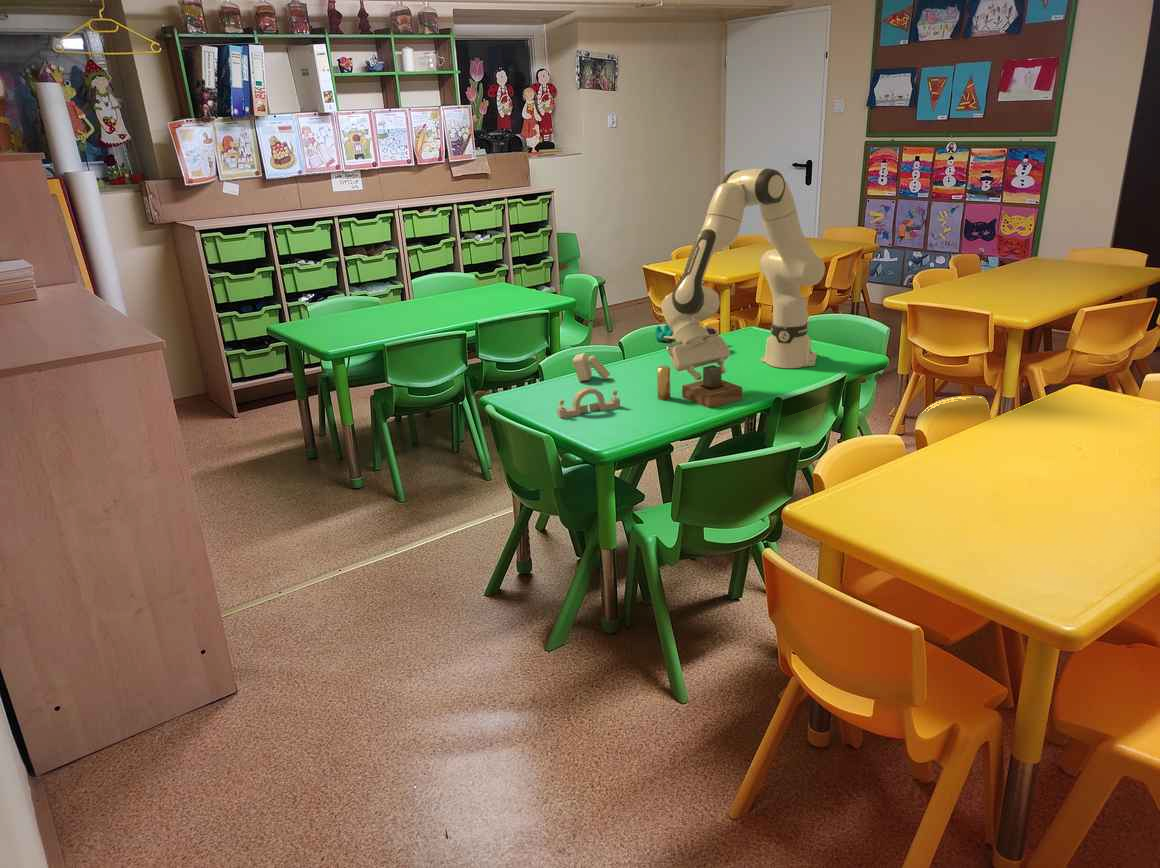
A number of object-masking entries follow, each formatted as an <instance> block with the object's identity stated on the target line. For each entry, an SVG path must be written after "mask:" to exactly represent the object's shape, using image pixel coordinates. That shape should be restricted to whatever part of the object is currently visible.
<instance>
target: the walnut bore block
mask: <svg viewBox="0 0 1160 868" xmlns="http://www.w3.org/2000/svg"><path fill="white" fill-rule="evenodd" d="M681 386H682V393H681V394H682V396H681V397H682V398H684V399H685V400H688V401H689V402H693V403H696V404H698V405H701V406H703V407H704V408H708V409H710V408H714V407H717V406H721V405H725V404H729V403H732V402H736V401H740V400H742V399H743V386H740V385H738V384H736V383H732V382H729V381H727V380H723V379H721V388H717V389H713V390H709V389H706V388H703V379H701V380H697V381H695V382H690V383H685V384H683V385H681Z"/></svg>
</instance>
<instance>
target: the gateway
mask: <svg viewBox="0 0 1160 868" xmlns="http://www.w3.org/2000/svg"><path fill="white" fill-rule="evenodd" d="M576 392H577V393H575V395H574V397H573V398H572V399H573V400H572V408H571V407H569V408H566V407H564V404H565V402H566V401H565V400H564V399H559V400H557V401H558V403H559V405H560V407H557V408H556V410H557V411H556V412H557V417H558V418H559V419H565V418H570V417H575V416H581V414H582V413H583V414H584V413H587V412H592V411H597V410H598V411H600V412H603V411H608V410H613V409H620V408H621V399H620V398H619V397H617V396H616V395H618V393H619V391H618V390H616V389H613V390H611V393H612V395H613V396H614V397H610V400H609V401H605V396H604V395H603V393H602V392H601V391H599V390H598V389H597V388H594V387H592V386H591V387H590V386H586V387H584V388H582V389H580V390H579V391H576ZM587 395H596V400H597V402H593V403H589V404H583V405H581V401H582V399H583V398H584V397H586V396H587ZM588 405H589V406H588ZM588 407H589V410H588Z"/></svg>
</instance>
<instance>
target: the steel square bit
mask: <svg viewBox="0 0 1160 868" xmlns="http://www.w3.org/2000/svg"><path fill="white" fill-rule="evenodd" d="M722 375H723V374H722V368H721V367H719V365H714V364H712V365H711V364H710V365H706V366H702V380H703V388H706V389H709V390H713V389H717V388H721V380H722Z"/></svg>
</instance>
